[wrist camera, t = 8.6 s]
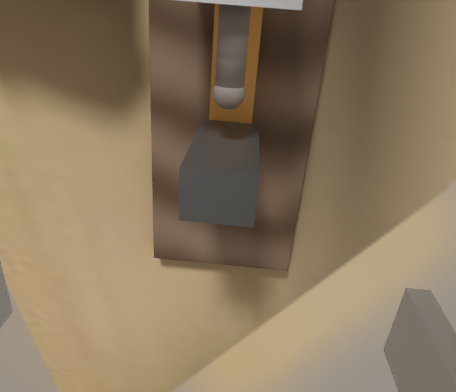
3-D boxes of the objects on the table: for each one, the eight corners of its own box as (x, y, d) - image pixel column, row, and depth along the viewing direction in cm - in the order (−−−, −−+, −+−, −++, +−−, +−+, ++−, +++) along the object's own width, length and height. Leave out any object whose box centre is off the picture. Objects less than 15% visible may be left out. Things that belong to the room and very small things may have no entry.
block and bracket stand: (193, -21, 24) (156, -35, 15) (289, -14, 24) (309, -24, 15) (188, 171, 30) (160, 242, 21) (265, 178, 30) (269, 252, 21)
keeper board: (152, -95, 24) (76, -166, 14) (344, -81, 24) (410, -144, 14) (157, 248, 36) (118, 346, 26) (286, 260, 36) (298, 364, 25)
